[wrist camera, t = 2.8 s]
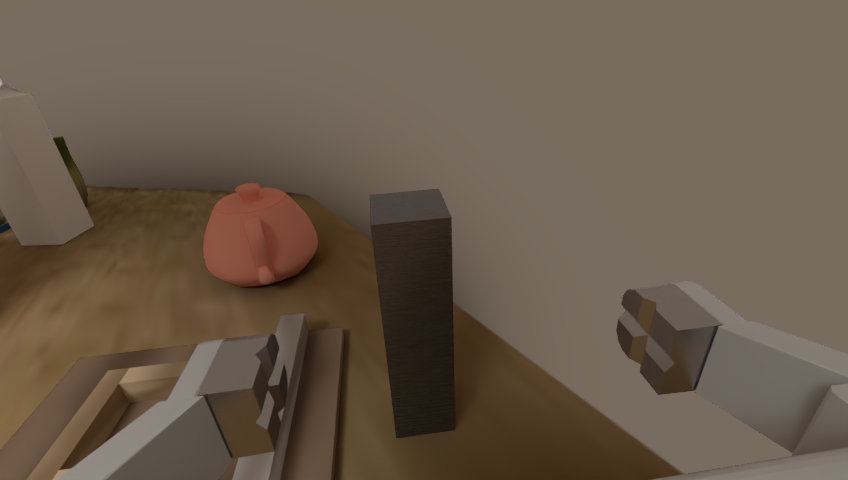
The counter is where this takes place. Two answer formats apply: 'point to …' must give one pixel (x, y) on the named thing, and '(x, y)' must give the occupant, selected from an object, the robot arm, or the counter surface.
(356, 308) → the counter surface
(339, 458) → the counter surface
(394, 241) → the bar
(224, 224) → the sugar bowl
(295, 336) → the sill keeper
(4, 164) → the milk
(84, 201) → the fennel bulb
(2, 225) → the milk carton
